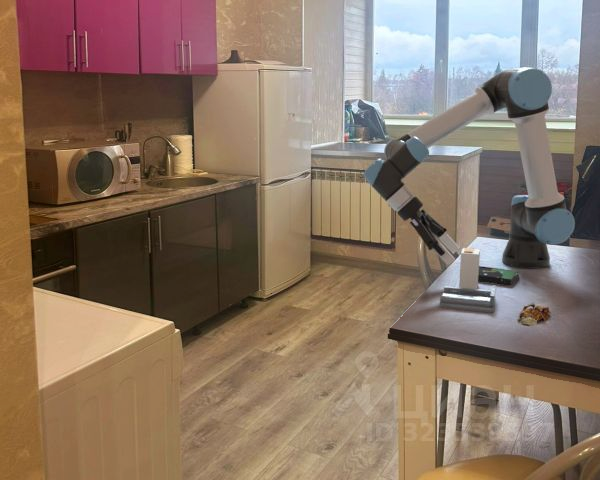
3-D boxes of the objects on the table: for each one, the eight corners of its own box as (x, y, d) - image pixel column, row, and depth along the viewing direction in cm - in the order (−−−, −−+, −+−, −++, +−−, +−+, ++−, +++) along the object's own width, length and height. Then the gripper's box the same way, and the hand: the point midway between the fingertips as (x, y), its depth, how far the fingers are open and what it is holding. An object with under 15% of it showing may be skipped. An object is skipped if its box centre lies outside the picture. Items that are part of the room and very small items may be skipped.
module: (477, 284, 197) (480, 248, 194) (476, 290, 191) (478, 253, 188) (460, 283, 198) (462, 246, 195) (459, 289, 193) (461, 251, 190)
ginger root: (515, 324, 165) (516, 311, 164) (524, 310, 175) (525, 298, 174) (543, 329, 162) (544, 316, 161) (551, 314, 172) (552, 302, 171)
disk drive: (462, 281, 202) (511, 287, 195) (462, 272, 201) (512, 278, 194) (471, 273, 211) (519, 278, 204) (471, 264, 210) (519, 270, 203)
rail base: (495, 298, 184) (496, 284, 183) (493, 312, 173) (494, 297, 172) (444, 293, 188) (445, 280, 187) (439, 307, 177) (440, 292, 176)
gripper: (403, 204, 208) (449, 254, 206) (387, 220, 185) (439, 275, 183) (421, 189, 205) (467, 239, 203) (407, 202, 182) (459, 259, 180)
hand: (454, 256), depth 193 cm, fingers open, 13 cm apart
